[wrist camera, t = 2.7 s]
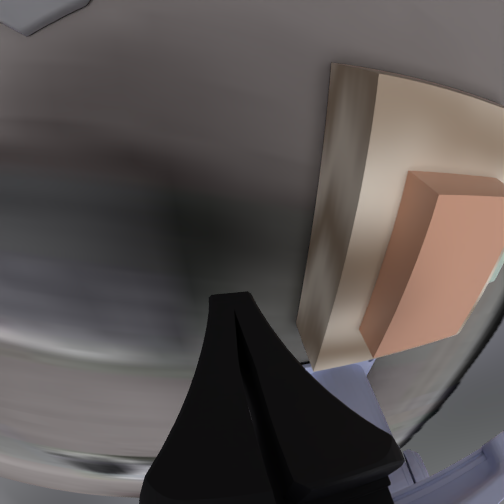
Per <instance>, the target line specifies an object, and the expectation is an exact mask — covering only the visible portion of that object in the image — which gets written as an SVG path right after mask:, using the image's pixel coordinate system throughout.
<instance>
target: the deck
mask: <svg viewBox="0 0 504 504" xmlns="http://www.w3.org/2000/svg"><path fill="white" fill-rule="evenodd" d="M408 171H425V172H439V173H452V174H463V175H474V176H483V177H492V178H497V179H498V180H500V181H501V182H503V183H504V106H502V105H500V104H498V103H495V102H492V101H490V100H487V99H484V98H481V97H479V96H476V95H473V94H470V93H467V92H464V91H460V90H457V89H454V88H451V87H447V86H444V85H440V84H437V83H433V82H430V81H426V80H422V79H418V78H414V77H410V76H405V75H401V74H396V73H392V72H387V71H382V70H376V69H371V68H365V67H359V66H353V65H346V64H339V63H331V73H330V84H329V95H328V105H327V115H326V125H325V134H324V143H323V151H322V159H321V168H320V175H319V183H318V190H317V198H316V205H315V212H314V219H313V226H312V232H311V239H310V245H309V251H308V258H307V264H306V270H305V276H304V282H303V287H302V293H301V299H300V304H299V310H298V315H297V320H296V325H297V328H298V330H299V333H300V336H301V339H302V342H303V344H304V347H305V350H306V353H307V356H308V358H309V361H310V364H311V367H312V370H313V372H315V371H321V370H326V369H331V368H335V367H340V366H345V365H349V364H354V363H358V362H362V361H367V360H371V359H375V358H373V357H372V355H371V353H370V351H369V349H368V347H367V345H366V343H365V341H364V339H363V337H362V335H361V333H360V331H359V327H360V325H361V322H362V320H363V317H364V314H365V312H366V309H367V306H368V304H369V301H370V298H371V295H372V293H373V290H374V287H375V284H376V281H377V278H378V275H379V272H380V269H381V266H382V263H383V260H384V257H385V254H386V251H387V247H388V244H389V241H390V237H391V234H392V231H393V227H394V224H395V220H396V217H397V213H398V209H399V206H400V202H401V198H402V194H403V190H404V186H405V182H406V178H407V174H408ZM503 253H504V247H503V249H502V251H501V254H500V256H499V258H498V260H497V262H496V264H495V266H494V268H493V270H492V272H491V274H490V276H489V278H488V280H487V282H486V284H485V286H484V288H483V289H482V291H481V293H480V295H479V297H478V298H477V300H476V302H475V304H474V305H473V307H472V309H471V311H470V312H469V314H468V316H467V317H466V319H465V321H464V322H463V324H462V326H461V327H460V329H459V330H458V332H457V333H456V334H455V335H457V334H459V332H460V331H461V329H462V328H463V326H464V324H465V323H466V321H467V320H468V318H469V316H470V315H471V313H472V311H473V310H474V308H475V306H476V304H477V303H478V301H479V299H480V297H481V296H482V294H483V292H484V290H485V288H486V286H487V285H488V283H489V281H490V279H491V277H492V275H493V273H494V271H495V269H496V267H497V265H498V263H499V261H500V259H501V257H502V255H503ZM452 336H454V335H452ZM449 337H451V336H449ZM446 338H448V337H446ZM443 339H445V338H443ZM440 340H442V339H440ZM437 341H439V340H437ZM433 342H436V341H433ZM430 343H432V342H430ZM427 344H429V343H427ZM424 345H426V344H424ZM420 346H422V345H420ZM417 347H419V346H417ZM413 348H416V347H413ZM410 349H412V348H410ZM406 350H409V349H406ZM403 351H405V350H403ZM399 352H402V351H399ZM395 353H398V352H395ZM392 354H394V353H392ZM388 355H390V354H388ZM384 356H387V355H384ZM380 357H383V356H380ZM376 358H379V357H376Z"/></svg>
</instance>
